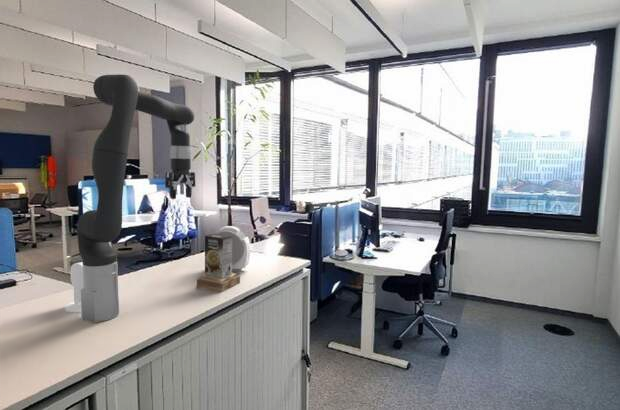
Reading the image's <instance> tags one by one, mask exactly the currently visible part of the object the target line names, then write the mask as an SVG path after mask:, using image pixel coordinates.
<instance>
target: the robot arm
mask: <svg viewBox="0 0 620 410" xmlns="http://www.w3.org/2000/svg"><path fill="white" fill-rule="evenodd" d="M92 86H93V87H92V89H93V93H94V95H95V98H96V99H97V100H98V101H99V102H101V103H102V104H104V105H106V106H107V105H108V106H112V109H111V113H110V118H109V119H108V121H107V124H106V125H105V126H104V128H103V129H102V130H101V132H100V133H99V135H98V137H97V139H95V142H94V144H93V150H92V157H91V171H92V175H93V178H94V182H95V184H96V189H97V192H98V193H97V195H98V196H97V198H98V200H97V206H96V209H90V210H87V211H85V212H83V213H82V214H81V215H80V216H79V218H78V220H77V226H76V233H77V236H76V237H77V244H78V245H77V246H78V247H77V248H78V251H79V255H80V257H81V259H82V260H83V280H84V288H83V289H81V308H82V312H81V320H84V321H88V322H91V323H95V324H96V323H99V322H103V321H108V320H111V319H113V318H115V317H116V318H117V316H118V315H119V314H120V305H119V303H120V302H119V301H120V299H119V274H118V270H119V268H118V253H117V251H116V250H114V249H113V247H112V246H111V244H110V243H111V242H113V241H115V240H116V239H117V238H118V236H119V235H120V234H121V231H122V225H123V197H124V196H123V195H124V185H125V184H124V183H125V176H126V169H127V163H128V154H129V143H130V137H131V130H132V125H133V120H134V116H135V112H136V111H139V112H141V113H145V114H147V115H150V116H154V117H155V118H159V119H161V120H166V122H167V127H168V130H169V134H170V152H169V153H170V169H171V171H172V172H168V171H167V172H165V176H164V177H165V178H164V179H165V181H164V182H165V183H164V185H165V186H164V187H165V188H166V189H168V190H169V197H170V199H171V200H176V199H177V187H178V186H179V185H180V184H183V185H184V187H185V198H189V199H190V198H192V196H193V195H192V189H193V188H194V187H196V173H195V172H193V171H190V170H191V167H192V165H191V164H192V163H191V158H192V157H191V144H190V142H191V140H190V139H191V138H190V133H189V132H188V131H185V130H182V128H181V126H183V125H184V126H187V125H191V124H192V123H193V122H194V119H195V113H194V111H193V109H191V107H189V106H187V105H185V104H181V103H177V102H172V101H170V100H167V99H165V98H162V97H160V96H157V95H154V94H149V93H144V92H140V91H139V88H138V84H137V82H136V80H135V79H134V78H133V77H132V76H130V75H128V74H105V75H100V76H98V77H97V78H96V79H95V80H94V82H93V85H92Z"/></svg>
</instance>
